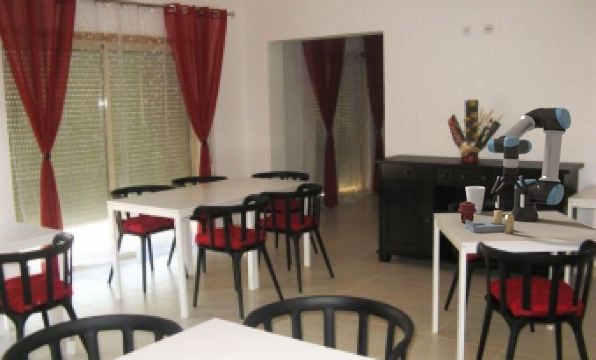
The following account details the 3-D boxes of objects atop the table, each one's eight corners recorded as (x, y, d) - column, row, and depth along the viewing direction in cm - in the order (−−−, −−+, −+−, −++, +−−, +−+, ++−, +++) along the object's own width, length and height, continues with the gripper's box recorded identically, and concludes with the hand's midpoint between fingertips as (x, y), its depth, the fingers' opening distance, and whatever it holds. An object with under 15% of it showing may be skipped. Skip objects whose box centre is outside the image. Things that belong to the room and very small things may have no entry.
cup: (487, 214, 381) (487, 188, 379) (467, 214, 381) (468, 188, 379) (481, 211, 393) (482, 185, 391) (462, 211, 393) (463, 186, 391)
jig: (503, 226, 346) (504, 208, 344) (513, 230, 334) (513, 212, 332) (465, 228, 343) (465, 210, 342) (473, 232, 332) (473, 214, 330)
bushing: (511, 232, 330) (511, 214, 328) (515, 234, 325) (515, 215, 324) (503, 233, 329) (503, 214, 328) (507, 234, 325) (507, 215, 324)
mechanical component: (475, 221, 361) (476, 225, 351) (457, 221, 363) (458, 224, 353) (475, 200, 359) (477, 203, 349) (457, 200, 361) (458, 203, 351)
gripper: (530, 165, 328) (529, 205, 330) (484, 166, 325) (483, 206, 328) (537, 167, 320) (536, 207, 323) (490, 168, 318) (489, 209, 320)
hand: (509, 207), depth 325 cm, fingers open, 13 cm apart
